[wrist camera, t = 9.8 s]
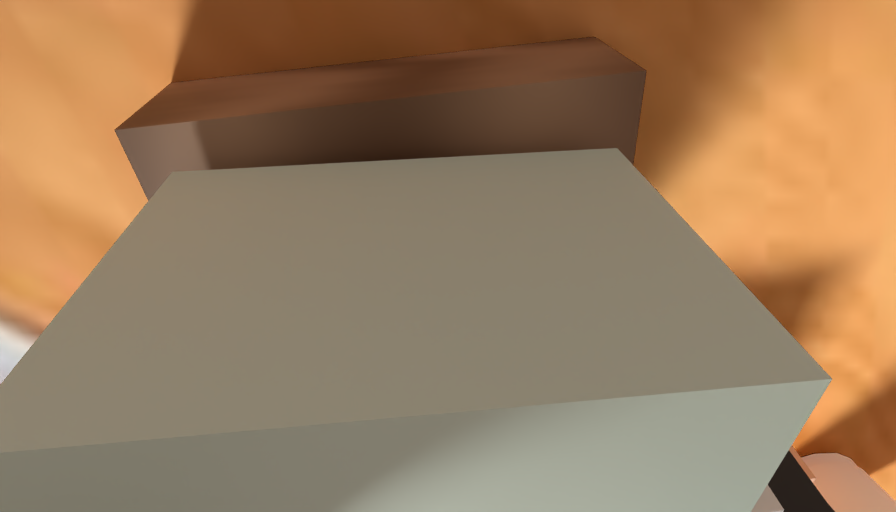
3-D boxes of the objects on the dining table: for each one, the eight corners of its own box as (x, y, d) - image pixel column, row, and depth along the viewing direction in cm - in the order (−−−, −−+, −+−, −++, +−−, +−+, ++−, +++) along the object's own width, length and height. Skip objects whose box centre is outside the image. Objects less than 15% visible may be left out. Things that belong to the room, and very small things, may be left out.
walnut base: (286, 367, 21) (268, 451, 18) (176, 79, 14) (114, 130, 11) (567, 331, 22) (598, 407, 19) (589, 33, 15) (646, 70, 12)
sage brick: (270, 448, 17) (209, 729, 11) (172, 172, 11) (-58, 457, 5) (566, 421, 18) (652, 672, 12) (617, 147, 12) (831, 378, 6)
